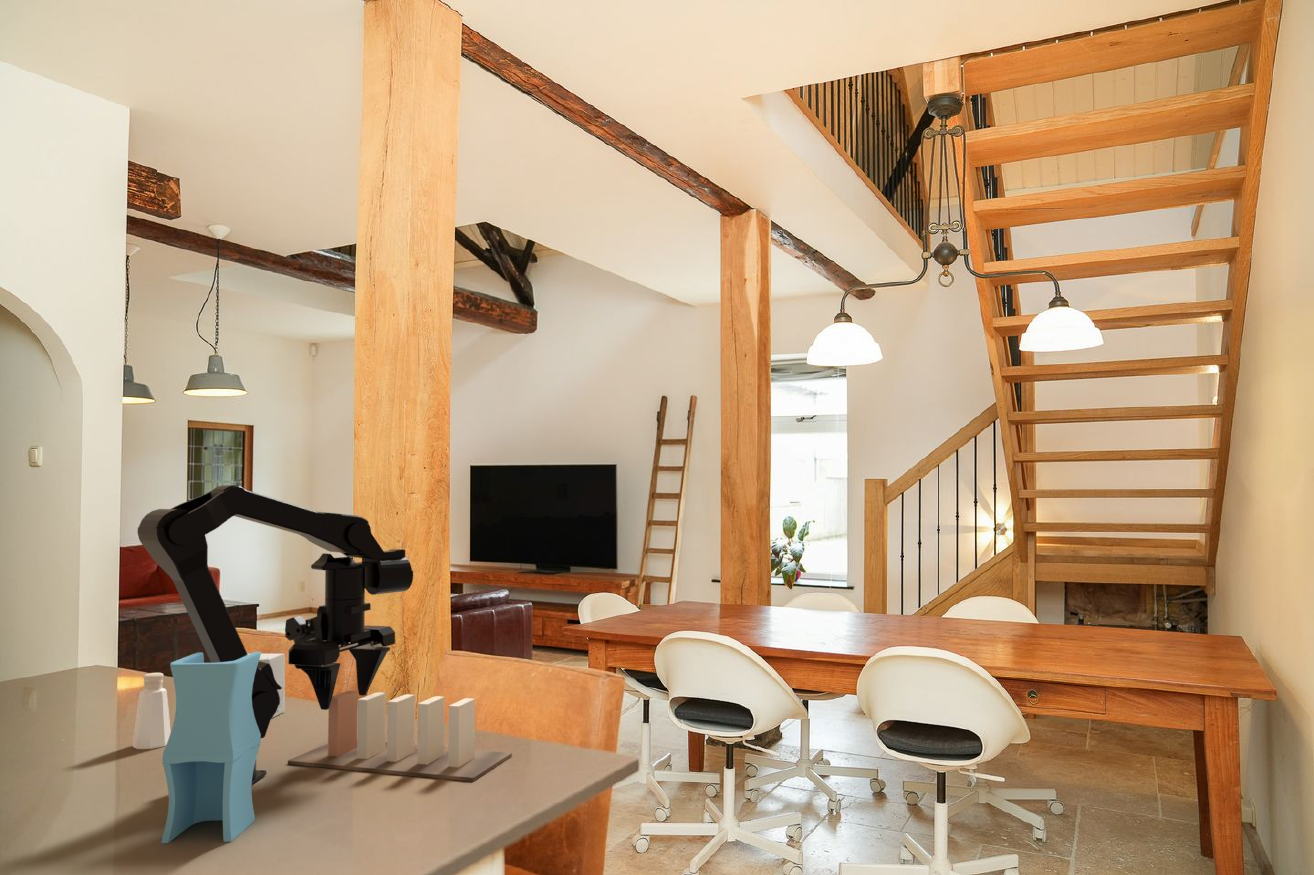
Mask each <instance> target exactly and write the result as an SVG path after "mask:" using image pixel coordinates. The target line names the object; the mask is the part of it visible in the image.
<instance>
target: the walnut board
mask: <svg viewBox="0 0 1314 875" xmlns="http://www.w3.org/2000/svg"><path fill="white" fill-rule="evenodd" d="M417 746H418V744H415V753H413V754H411V755H409V756H407V757H405V758H403V759H401V760H399V761H397V762H392V761H387V741H385V750H384V751H382V752H380V753H378V754H376V755H374V756H372V757H370V758H368V759H359V758H357V748H355V749H353V750H351V751H348V752H346V753H344V754H342V755H340V756H338V757H335V756H328V742H327V743H325V744H322V745H321V746H318V747H316V748H314V749H311V750H309V751H307V752H306V751H305V753H302V754H300V755H298V756H295V757H293V758H289V759H287V765H295V766H304V767H305V766H306V767H316V768H323V769H324V768H326V769H334V770H335V769H336V770H337V769H338V770H344V771H345V770H348V771H356V772H357V771H358V772H366V773H367V772H368V773H379V774H388V775H389V774H390V775H398V776H410V777H411V776H412V777H419V778H420V777H421V778H429V779H431V778H432V779H441V780H442V779H443V780H452V781H462V782H475V781H477V780H478V779H479V778H481V777H482V776H484V775H485V774H487V773H488V772H491V770H493V769H495V768H496V767H498V766H499V765H500V764H502V763H504V762H505V761H507V760H508V759H510V758H512V756H513V754H512V752H507V751H506V752H505V751H494V750H483V749H482V750H481V749H475V758H473V759H472V760H470V761H469V762H467V763H465V764H464V765H462V766H460V767H449V746H447V747H445V746H444V756H442V757H440V758H438V759H436V760H435V761H433V762H431V763H429V764H428V765H426V764H417Z"/></svg>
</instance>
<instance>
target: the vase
mask: <svg viewBox="0 0 1314 875" xmlns="http://www.w3.org/2000/svg"><path fill="white" fill-rule="evenodd" d="M248 654H249V655H246V656H244V657H242V658H240V659H237V660H235V661H228V662H218V663H211V662H205V656H204V652H195V653H192V654H190V655H187V656H184V657H182V658H180V659H177V660H174V661H172V662H170V670H171V671H170V672H171V675H172V678H173V684H174V689H175V691H174V692H175V714H174V718H173V723H172V727H171V729H170V730H171V733H170V736H169V739H168V742H167V744H166V746H164V747H165V748H164V750H163V752H162V766H163V770H164V774H165V779H166V784H167V792H168V809H167V810H168V811H167V817H166V822H165V827H164V830H163V834H162V837H161V842H160V844H169V843H170V842H172V841H173V840H174V839H175V838H176V837H178V836H180V835H181V833H183V832H184V831H185V830H187V829H188V828H189V827H191V826H192V825H195V824H198V823H202V822H208V821H209V822H210V821H222V834H223V836H222V838H223V843H231V842H233V841H234V840H235V839H236V838H237V837H239V836H240V834H242V833H243V832H245V830H246V829H247V828H249V826H251V825H252V824H253V823H254V822H255V820H256V818H255V811H254V805H253V797H252V795H253V794H252V785H253V784H252V776H253V770H254V765H255V761H256V762H257V756H258V753H259V750H260V746H261V742H262V741H261V740H262V738H261V734H260V731H259V728H258V726H257V723H256V720H255V717H254V712H253V707H252V687H253V681H254V676H255V672H256V669H257V665H258V662H259V659H260V656H261V654H262V651H254V652H251V653H248Z"/></svg>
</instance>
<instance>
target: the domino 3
mask: <svg viewBox="0 0 1314 875" xmlns="http://www.w3.org/2000/svg"><path fill="white" fill-rule="evenodd" d="M445 699H446V697H445V696H439V695H437V696H436V695H435V696H432V697H430V698H428V699H425V700H423V701H421V702H418V703H417V745H418V746H417V764H426V765H428V764H429V763H431V762H433V761H435V760H436V759H438V758H440V757H442V756H444V747H445V738H446V737H445V736H446V734H445V727H446V726H445V723H446V722H445V720H446V716H445V715H446V714H445V713H446V712H445V708H446V707H445V704H446V701H445Z"/></svg>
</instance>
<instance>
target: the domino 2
mask: <svg viewBox="0 0 1314 875" xmlns="http://www.w3.org/2000/svg"><path fill="white" fill-rule="evenodd" d="M386 709H387V710H386V711H387V712H386V742H387V761H392V762H397V761H399V760H401V759H403V758H405V757H407V756H409V755H411V754H413V753H415V745H416V744H415V743H416V741H415V738H416V736H415V735H416V732H415V731H416V727H415V726H416V724H415V723H416V714H415V713H416V695H415V694H407V693H406V694H405V693H404V694H403V695H400V696H398V697H395V698H392V699H391V700H388V701H386Z"/></svg>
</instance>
